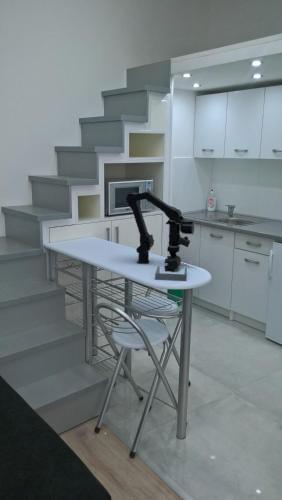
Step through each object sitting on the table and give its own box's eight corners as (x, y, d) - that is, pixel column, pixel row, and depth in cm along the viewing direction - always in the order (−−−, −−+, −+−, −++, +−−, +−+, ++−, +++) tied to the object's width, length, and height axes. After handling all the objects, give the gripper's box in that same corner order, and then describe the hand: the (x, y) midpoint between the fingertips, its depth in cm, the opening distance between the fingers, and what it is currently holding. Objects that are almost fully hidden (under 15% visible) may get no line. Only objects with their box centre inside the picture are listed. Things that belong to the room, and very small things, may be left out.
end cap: (177, 272, 220) (178, 259, 219) (164, 271, 222) (164, 258, 220) (180, 267, 230) (181, 255, 228) (167, 266, 231) (168, 254, 230)
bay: (157, 271, 220) (157, 266, 220) (186, 273, 219) (186, 267, 218) (155, 279, 207) (155, 273, 207) (186, 280, 206) (186, 274, 205)
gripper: (189, 236, 220) (188, 265, 223) (189, 230, 238) (188, 257, 241) (167, 235, 221) (166, 265, 224) (169, 229, 239) (168, 256, 242)
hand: (173, 260), depth 233 cm, fingers closed
